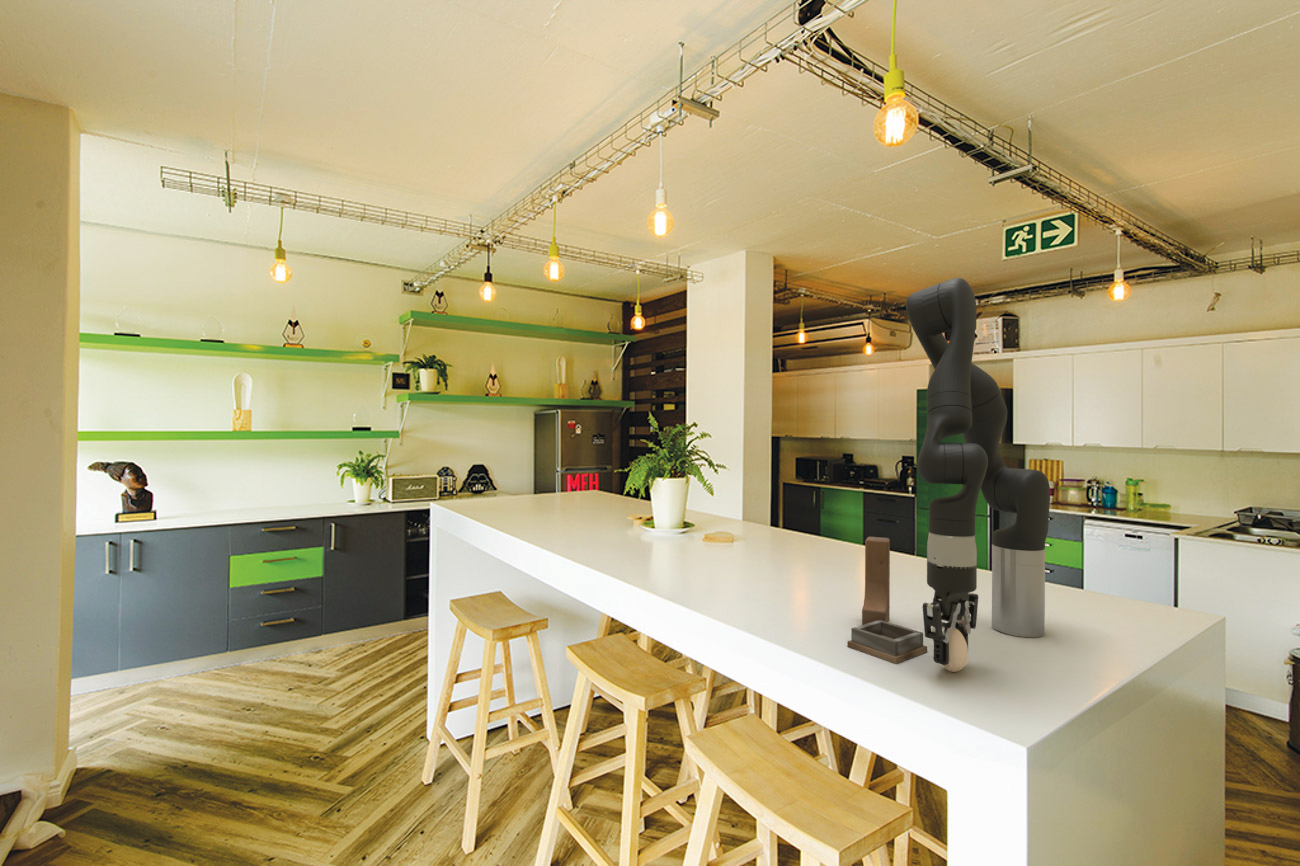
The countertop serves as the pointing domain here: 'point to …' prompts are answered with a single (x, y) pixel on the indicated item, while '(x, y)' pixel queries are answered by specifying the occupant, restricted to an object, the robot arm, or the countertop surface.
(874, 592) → the wooden block
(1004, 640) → the countertop surface
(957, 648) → the egg
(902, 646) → the holder
